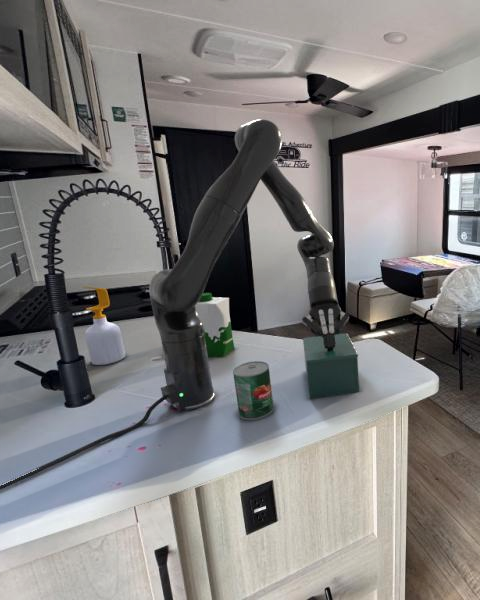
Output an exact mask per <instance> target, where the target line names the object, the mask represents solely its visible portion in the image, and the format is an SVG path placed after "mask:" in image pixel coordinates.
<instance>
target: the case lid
mask: <svg viewBox="0 0 480 600" xmlns="http://www.w3.org/2000/svg"><path fill="white" fill-rule="evenodd" d="M302 341H303V342H302V343H304V344H303V350H304V349H305V355H304V357H305V356H306V363H307V364H308V363H316V362H324V361H332V360H340V359H347V358H355V357H357V358H359V353H358V351H357V349H356V348H355V346H354V344H353V342H352V340H351V338H350V336H349V334H348V333H347V332H345V333H340V334H336V335H335V343H336V344H335V347H334V348H333V350H327V349H325V347H324V341H323V337H321V336H319V337H317V336H309V337H303V338H302Z"/></svg>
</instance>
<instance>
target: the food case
mask: <svg viewBox="0 0 480 600" xmlns="http://www.w3.org/2000/svg"><path fill="white" fill-rule="evenodd" d="M302 343H303V342H302ZM303 345H304V343H303ZM303 353H304V365H305V367H304V368H305V376H306V381H307V390H308V397H309V399H317V398H318V399H319V398H324V397H331V396H337V395H344V394H351V393H357V392H358V393H359V392H360V380H359V379H360V377H359V361H358V358H359V357H355V358H347V359H340V360H332V361H324V362H316V363H308V364H307V363H306V356H305V349H304V348H303Z"/></svg>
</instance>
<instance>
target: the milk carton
mask: <svg viewBox="0 0 480 600" xmlns="http://www.w3.org/2000/svg"><path fill="white" fill-rule="evenodd" d="M195 308H196V312H197V314H198V316H199V318H200V320H201V322H202V324H203V329H204V335H205V342H206V348H207V354H208V357H218V358H220V357H221V358H224V357H225V356H226V355H228V354H229V353H231V352H232V351H234V350H235V343H234V338H233V330H232V324H231V317H230V297H220V296H219V297H217V296H216V297H215V296H213V295H212V293H211V292H203V294H202V296H201V298H200V300H199V302H198V303H197V304H196V305H195Z"/></svg>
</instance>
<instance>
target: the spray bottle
mask: <svg viewBox="0 0 480 600" xmlns="http://www.w3.org/2000/svg"><path fill="white" fill-rule="evenodd" d="M82 289H90V290H95V291H96V294H97V298H98V304H97V305H94V306H90V307H87V308H85V310H86V311H91V312H92V313H94V315H93V316H92V321H93V324H92V325H90V326H89V327H88V328H87V329H86V330H84V331H85V332H84V337H85V341H86V346H87V350H88V354H89V357H90V363H91V364H92V365H95V366H104V365H110V364H113V363H117V362H119V361H121V360H123V359H125V357H126V352H125V347H124V341H123V338H122V333H121V329H120V327H119V326H118V325H117V324H115V323H113V322H109V321H108V320H107V316H106V314H103V313H102V312H103V311H104V309H105V308H108V307H110V304H111V301H110V298H109V294H108V290H107V289H106V288H104V287H92V286H82Z"/></svg>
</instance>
